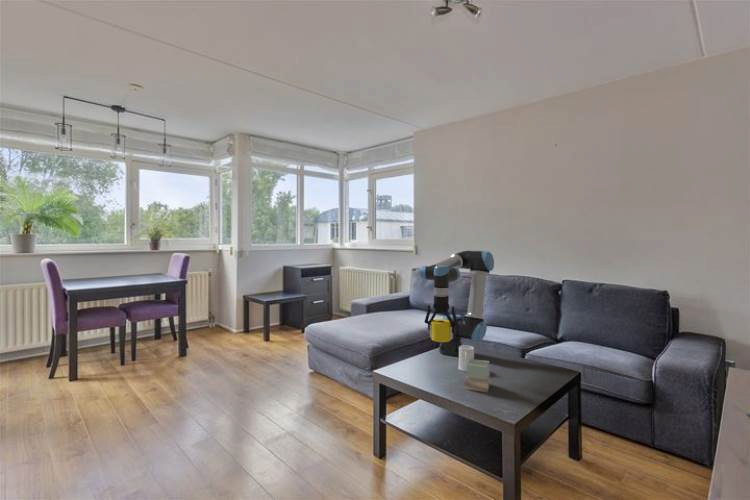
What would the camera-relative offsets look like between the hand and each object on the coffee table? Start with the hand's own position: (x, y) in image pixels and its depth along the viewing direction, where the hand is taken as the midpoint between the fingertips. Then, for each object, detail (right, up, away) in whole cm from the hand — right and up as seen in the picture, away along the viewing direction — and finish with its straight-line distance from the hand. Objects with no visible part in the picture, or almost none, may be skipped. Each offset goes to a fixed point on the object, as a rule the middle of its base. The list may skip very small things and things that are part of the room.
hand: (441, 337), depth 193 cm
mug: (+15, -20, +8) cm, 26 cm away
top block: (+15, -15, -14) cm, 26 cm away
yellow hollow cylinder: (0, -1, 0) cm, 1 cm away
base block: (+15, -21, -13) cm, 29 cm away
